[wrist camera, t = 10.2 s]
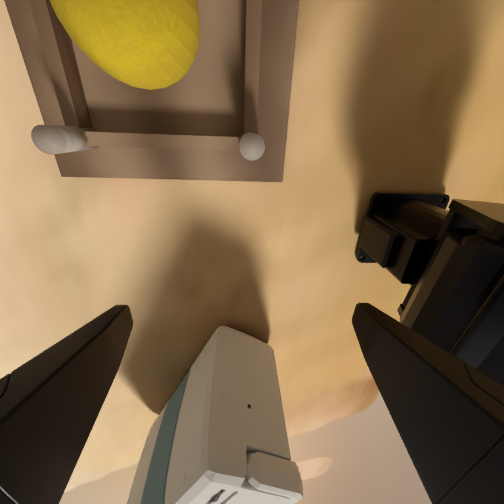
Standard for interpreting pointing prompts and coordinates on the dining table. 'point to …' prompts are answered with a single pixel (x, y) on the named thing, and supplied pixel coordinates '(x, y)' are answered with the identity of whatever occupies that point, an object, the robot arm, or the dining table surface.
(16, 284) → the dining table surface
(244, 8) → the cradle tray
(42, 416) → the robot arm
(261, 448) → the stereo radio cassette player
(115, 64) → the lemon
